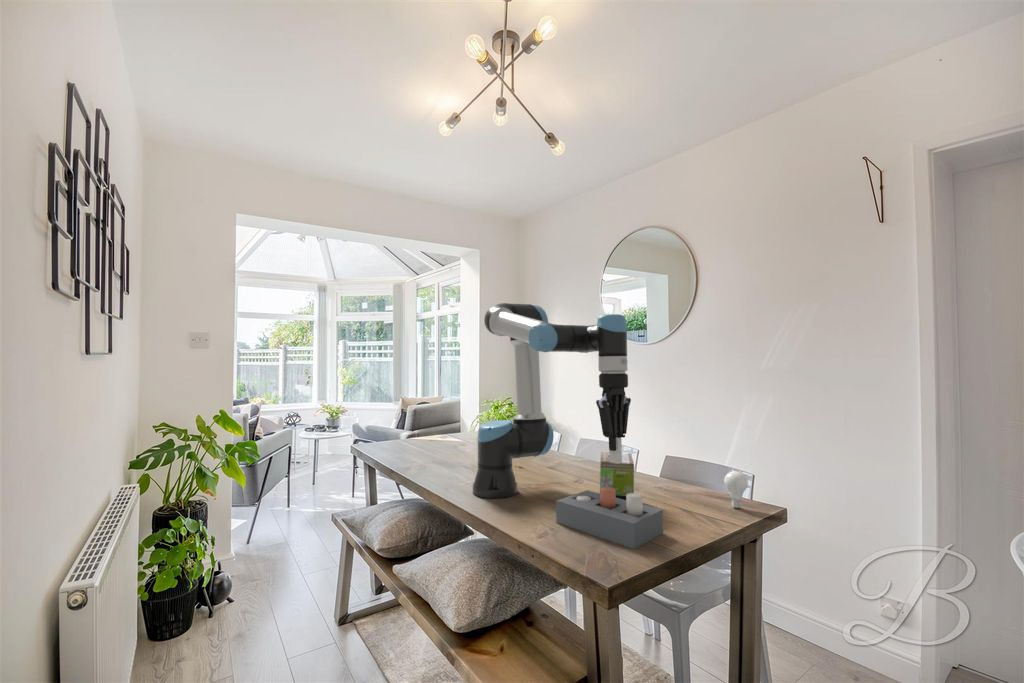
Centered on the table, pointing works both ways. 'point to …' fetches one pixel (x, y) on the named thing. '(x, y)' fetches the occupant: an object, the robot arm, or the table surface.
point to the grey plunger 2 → (634, 504)
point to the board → (609, 520)
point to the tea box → (617, 474)
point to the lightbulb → (736, 487)
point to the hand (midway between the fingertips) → (615, 462)
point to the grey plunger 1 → (583, 498)
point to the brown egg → (607, 497)
